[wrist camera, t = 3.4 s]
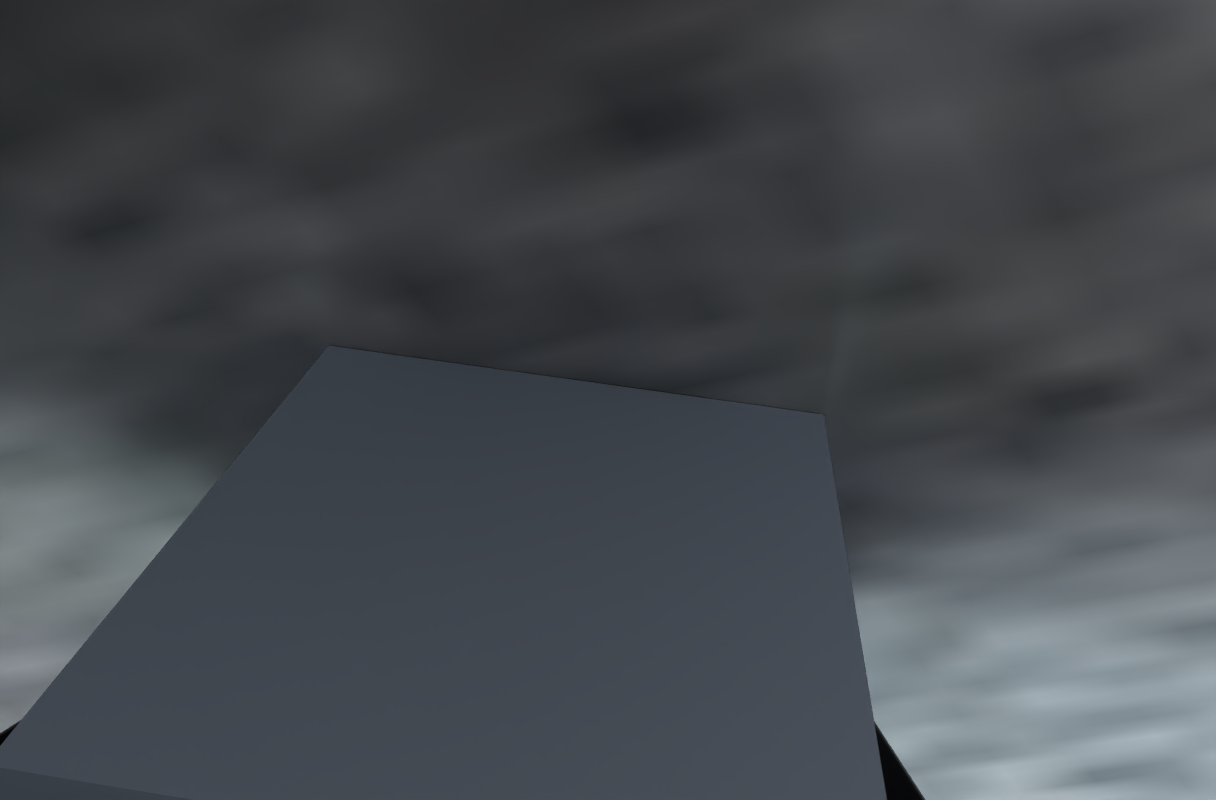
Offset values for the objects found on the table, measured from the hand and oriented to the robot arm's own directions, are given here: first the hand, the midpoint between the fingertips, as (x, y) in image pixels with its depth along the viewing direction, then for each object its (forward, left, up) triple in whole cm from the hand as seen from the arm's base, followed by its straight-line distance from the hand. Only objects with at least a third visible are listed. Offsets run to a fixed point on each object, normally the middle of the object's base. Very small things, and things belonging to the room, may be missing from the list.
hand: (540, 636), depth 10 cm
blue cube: (0, 0, -1) cm, 1 cm away
